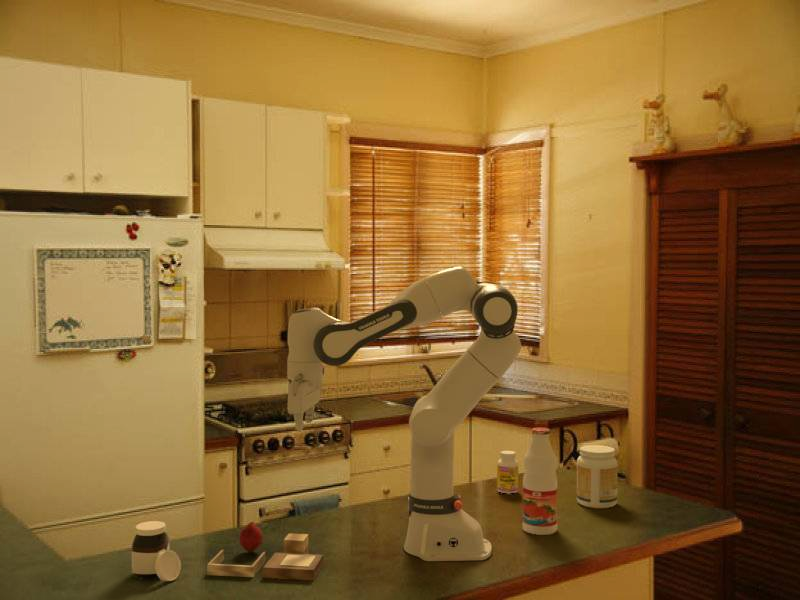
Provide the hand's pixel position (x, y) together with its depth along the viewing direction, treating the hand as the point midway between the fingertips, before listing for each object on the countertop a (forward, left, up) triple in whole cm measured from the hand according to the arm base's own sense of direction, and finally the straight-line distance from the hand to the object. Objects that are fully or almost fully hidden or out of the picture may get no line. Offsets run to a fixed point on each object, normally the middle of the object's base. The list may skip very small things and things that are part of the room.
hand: (304, 425), depth 215 cm
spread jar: (+30, +22, -32) cm, 49 cm away
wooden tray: (+6, +15, -32) cm, 36 cm away
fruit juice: (-60, -24, -32) cm, 72 cm away
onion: (+13, +4, -32) cm, 35 cm away
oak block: (+1, +5, -32) cm, 32 cm away
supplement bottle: (-51, -61, -32) cm, 86 cm away
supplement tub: (-78, -52, -32) cm, 99 cm away
